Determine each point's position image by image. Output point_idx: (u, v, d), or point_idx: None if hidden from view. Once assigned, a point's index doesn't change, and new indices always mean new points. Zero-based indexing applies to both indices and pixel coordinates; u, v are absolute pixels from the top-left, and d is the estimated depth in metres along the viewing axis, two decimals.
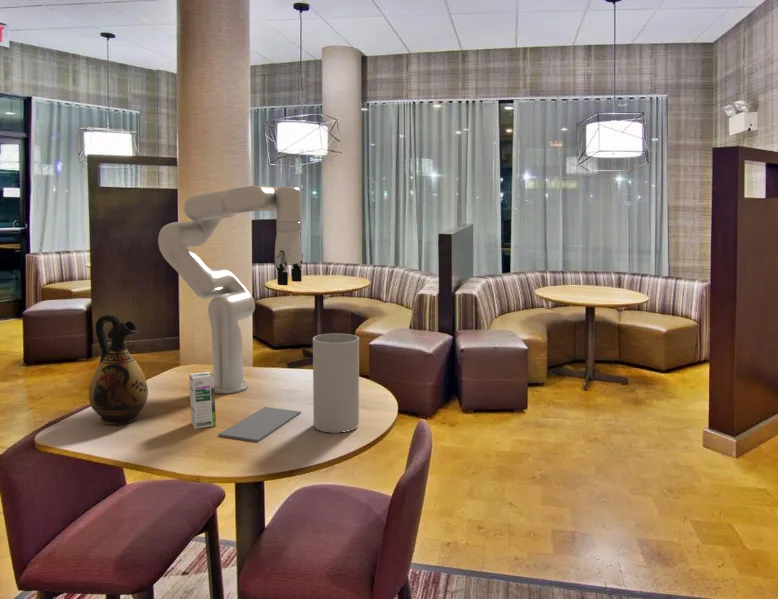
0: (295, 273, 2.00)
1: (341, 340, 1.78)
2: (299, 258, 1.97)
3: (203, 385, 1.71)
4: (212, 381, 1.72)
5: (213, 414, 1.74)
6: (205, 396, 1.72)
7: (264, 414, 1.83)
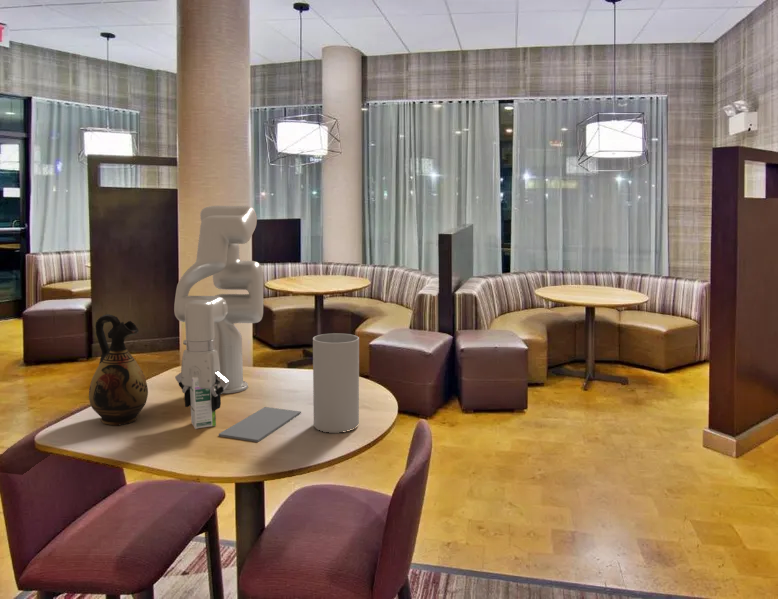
0: None
1: (341, 340, 1.78)
2: None
3: None
4: None
5: (213, 414, 1.74)
6: (205, 396, 1.72)
7: (264, 414, 1.83)
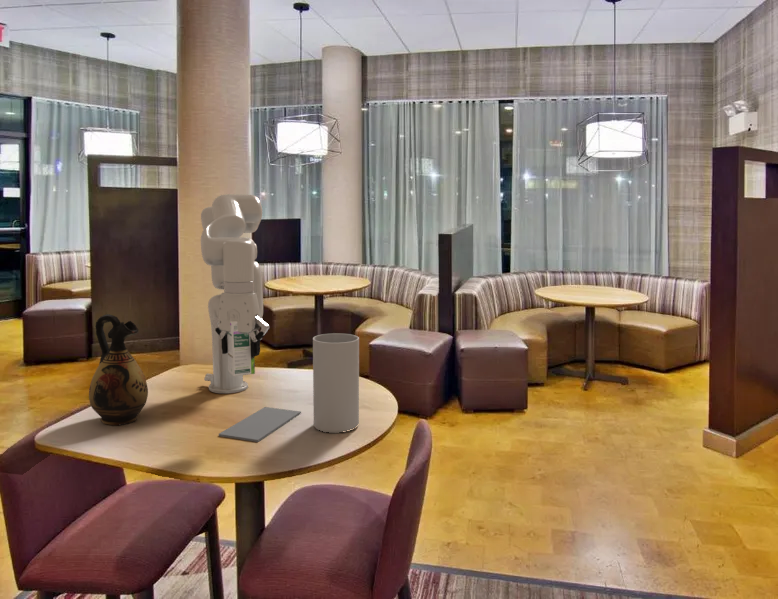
0: None
1: (341, 340, 1.78)
2: None
3: None
4: None
5: (252, 361, 1.64)
6: (244, 342, 1.62)
7: (264, 414, 1.83)
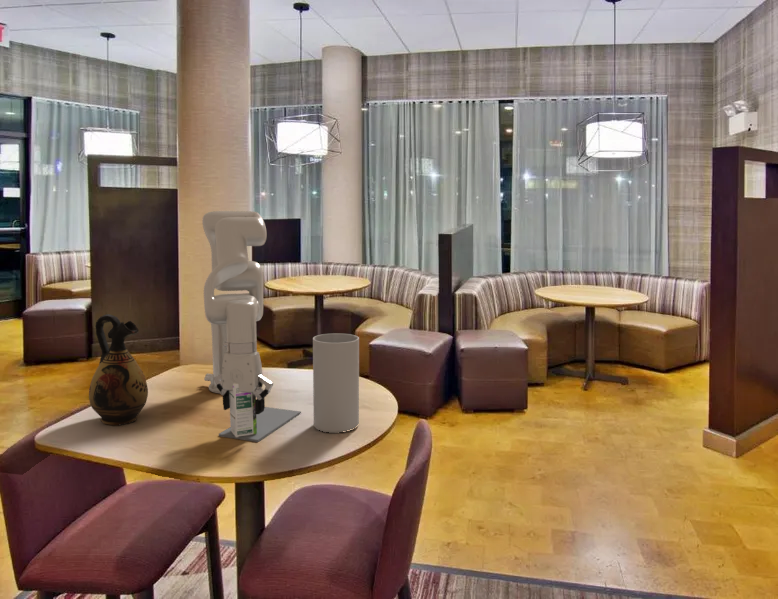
0: (228, 399, 1.68)
1: (341, 340, 1.78)
2: None
3: None
4: None
5: (254, 422, 1.66)
6: (246, 403, 1.64)
7: (264, 414, 1.83)
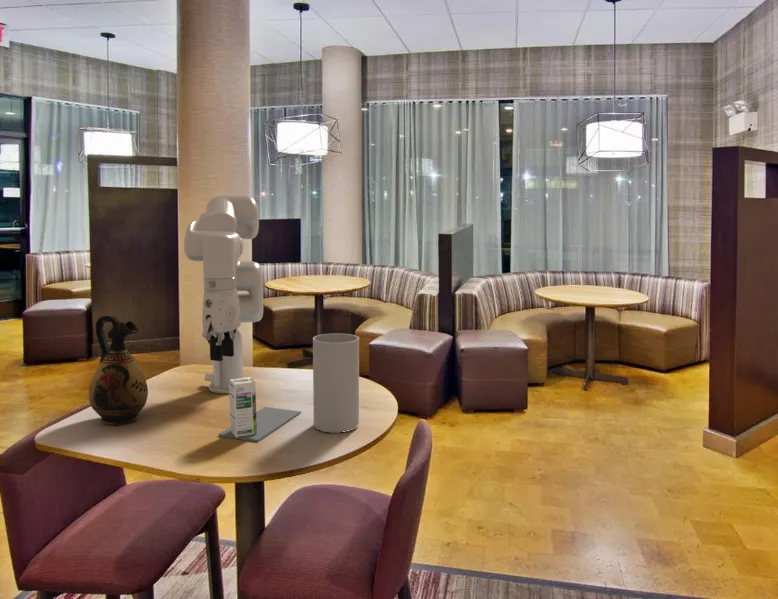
0: None
1: (341, 340, 1.78)
2: None
3: (244, 391, 1.64)
4: (253, 387, 1.65)
5: (254, 422, 1.66)
6: (246, 403, 1.64)
7: (264, 414, 1.83)
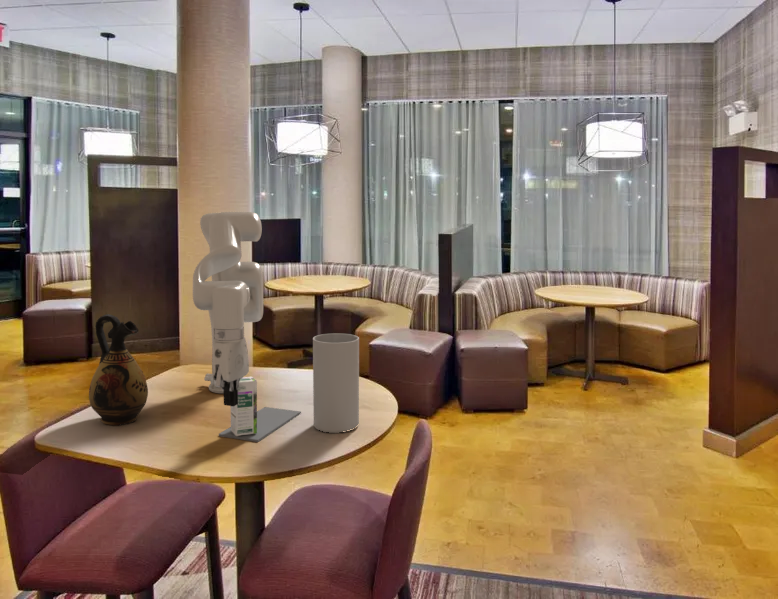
0: None
1: (341, 340, 1.78)
2: None
3: (245, 390, 1.64)
4: (255, 386, 1.65)
5: (254, 421, 1.66)
6: (247, 402, 1.65)
7: (264, 414, 1.83)
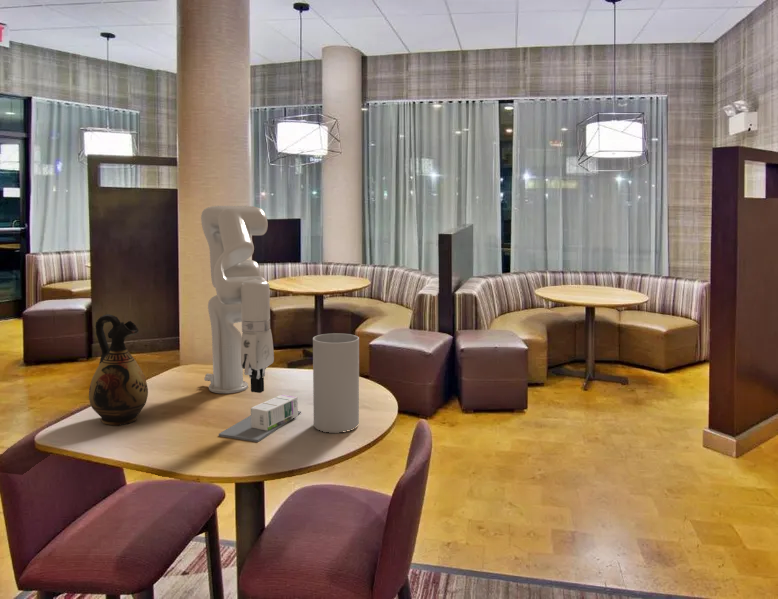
0: None
1: (341, 340, 1.78)
2: None
3: (293, 407, 1.79)
4: (295, 415, 1.80)
5: (275, 425, 1.72)
6: (286, 412, 1.76)
7: None
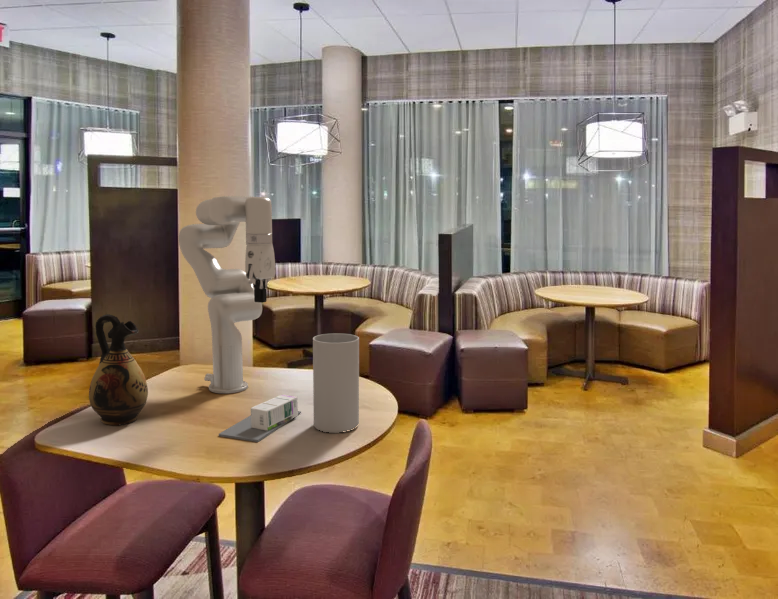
0: None
1: (341, 340, 1.78)
2: None
3: (293, 407, 1.79)
4: (295, 415, 1.80)
5: (275, 425, 1.72)
6: (286, 412, 1.76)
7: None
